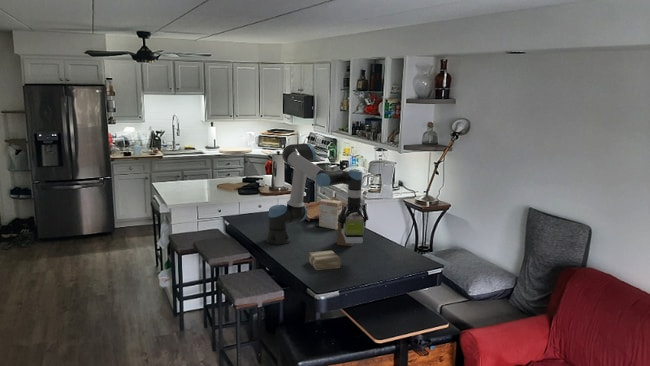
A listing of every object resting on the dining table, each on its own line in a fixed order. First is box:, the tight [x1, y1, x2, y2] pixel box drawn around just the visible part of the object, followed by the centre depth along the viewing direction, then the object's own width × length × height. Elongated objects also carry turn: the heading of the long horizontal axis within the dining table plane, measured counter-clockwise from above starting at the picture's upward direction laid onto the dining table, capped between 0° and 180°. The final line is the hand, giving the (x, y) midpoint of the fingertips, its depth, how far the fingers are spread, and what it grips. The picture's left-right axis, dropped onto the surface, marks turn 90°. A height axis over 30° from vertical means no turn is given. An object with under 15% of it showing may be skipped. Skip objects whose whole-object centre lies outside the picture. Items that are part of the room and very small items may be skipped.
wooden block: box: [336, 212, 355, 247], centre depth 325 cm, size 10×10×20 cm
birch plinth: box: [308, 249, 341, 271], centre depth 287 cm, size 14×14×6 cm
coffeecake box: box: [318, 198, 343, 231], centre depth 362 cm, size 15×7×20 cm, turn 58°
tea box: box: [343, 211, 364, 244], centre depth 292 cm, size 15×10×15 cm, turn 6°
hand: (352, 232), depth 292 cm, fingers closed on tea box, 12 cm apart
